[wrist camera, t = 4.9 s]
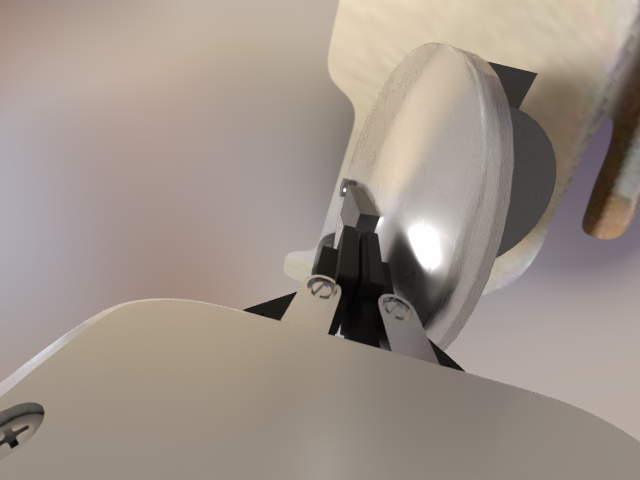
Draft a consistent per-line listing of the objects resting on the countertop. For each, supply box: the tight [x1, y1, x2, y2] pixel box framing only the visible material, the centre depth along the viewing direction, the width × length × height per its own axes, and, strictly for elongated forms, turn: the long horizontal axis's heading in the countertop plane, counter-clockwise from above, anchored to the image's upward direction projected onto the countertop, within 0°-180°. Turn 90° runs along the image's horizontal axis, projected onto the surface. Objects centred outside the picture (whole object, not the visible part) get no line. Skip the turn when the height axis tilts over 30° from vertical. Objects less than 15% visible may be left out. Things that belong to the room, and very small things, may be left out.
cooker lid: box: [334, 43, 514, 352], centre depth 17 cm, size 19×19×3 cm
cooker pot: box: [488, 62, 556, 258], centre depth 30 cm, size 24×18×12 cm
